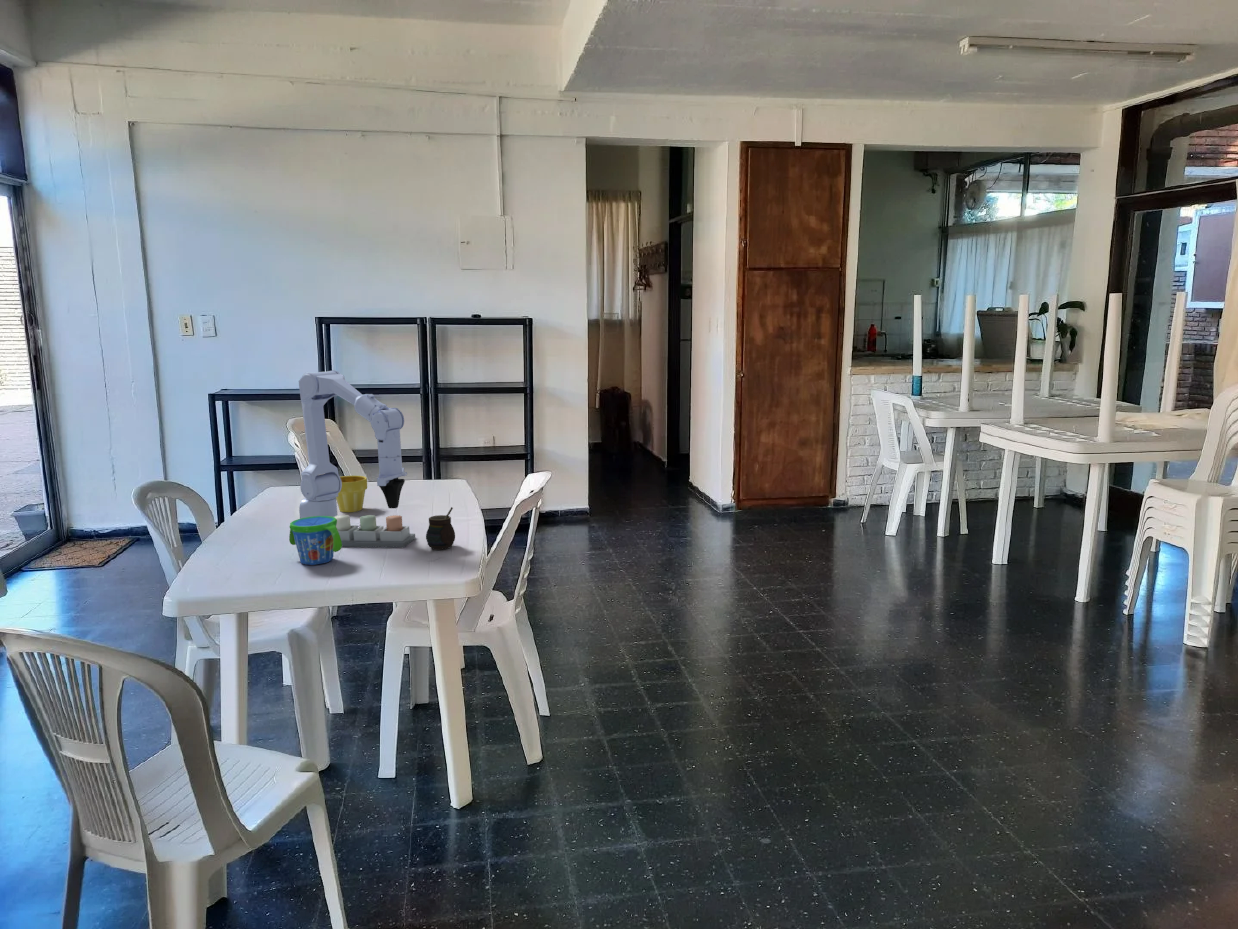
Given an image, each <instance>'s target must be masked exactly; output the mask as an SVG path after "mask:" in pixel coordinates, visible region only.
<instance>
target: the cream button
mask: <svg viewBox="0 0 1238 929" xmlns="http://www.w3.org/2000/svg"><path fill="white" fill-rule="evenodd" d="M334 518H336V519H337V525H336V528H337V529H338V531H348V530H349V529H351V526H352V525H351V516H350V515H348V514H340V515H338V516H335V517H334Z"/></svg>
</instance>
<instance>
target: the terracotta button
mask: <svg viewBox="0 0 1238 929" xmlns="http://www.w3.org/2000/svg"><path fill="white" fill-rule="evenodd" d="M385 523H386V527H387V531H401V530H402V529H403V527H402V526H403V516H401V515H397V514H394V515H389V516H387V517H385Z"/></svg>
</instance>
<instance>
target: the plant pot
mask: <svg viewBox="0 0 1238 929" xmlns="http://www.w3.org/2000/svg"><path fill="white" fill-rule="evenodd" d="M340 479H341V481H342V488H341V491H340V492H339V493H338V497H336V502H337V507H338V509H339V512H341V513H356V512H361V511H362V510H363V507H364V501H365V494H366V490H367V489H368V478H367V476H363V475H344V476H340Z"/></svg>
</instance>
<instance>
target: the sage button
mask: <svg viewBox="0 0 1238 929" xmlns="http://www.w3.org/2000/svg"><path fill="white" fill-rule="evenodd" d="M376 526H377V516H376V515H372V514H368V515H367V514H366V515H362V516H360V517H359V527H360V528H361V531H375V530H376V529H377V527H376Z"/></svg>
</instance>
